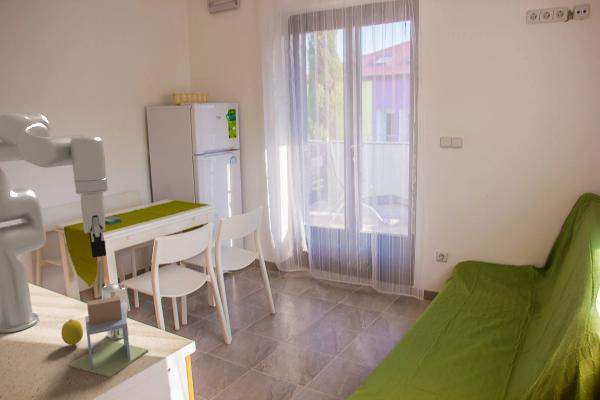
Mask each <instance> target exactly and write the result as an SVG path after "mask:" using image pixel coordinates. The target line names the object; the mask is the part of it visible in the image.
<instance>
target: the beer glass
mask: <svg viewBox="0 0 600 400" xmlns="http://www.w3.org/2000/svg"><path fill="white" fill-rule="evenodd" d="M126 287H127V286H126V285H125V284H124V283H111V284H107V285H104V286H103V287H102V288H101V299H105V298H110V297H116V296H119V298H120V303H121V310H123V312H124V315H125V319H126V322H127V323H128V321H127V319H128V308H129V307H128V306H129V305H128V304H129V303H128V302H129V301H128V294H127V293H128V292H127V288H126ZM127 329H128V335H129V334H130V330H129V326H128V325H127ZM107 338H108V339H110V340H120V339H123V329H122V328H121V329H116V330H111V331H107Z"/></svg>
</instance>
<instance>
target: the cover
mask: <svg viewBox="0 0 600 400" xmlns="http://www.w3.org/2000/svg"><path fill="white" fill-rule="evenodd" d="M86 305H87V312H88V313H87V314H88V315H87V316H85V317H84V318H85V319H84V321H85V327H86V328H85V329H86V337H87V347H88V353H89V356H90V365H91V370H92V369H94V368H93V359H92V351H93V350H92V344H91V335H95V334H100V333H104V332H108V331H111V330H116V329H121V328H122V329H123V338H122V340H123V344H124V346H125V350H126V354H127V358H128V361H130V350H129V345H130V341H129V334H128V329H129V328H128V329H127V326H128V321H127V322H126V319H125V315H124V312H123V310H121V303H120V298H119V296H116V297H110V298H105V299H102V298H100V299H95V300H89V301H86Z"/></svg>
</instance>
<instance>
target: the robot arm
mask: <svg viewBox="0 0 600 400" xmlns="http://www.w3.org/2000/svg"><path fill="white" fill-rule="evenodd" d="M103 141H104V140H102V138H100V137H99V136H84V135H81V134H79V135H78V134H72V135H55V136H54V135H53V136H51V124H50V122H49V120H48V119H47V118H46V116H45V115H44V114H42V113H39V112H31V111H30V112H7V113H2V114H0V163H6V162H15V161H23V160H24V161H25V162H27V163H29V164H31V165H34V166H37V167H39V168H45V169H48V168H56V167H63V166H64V167H65V166H72V172H73V179H74V180H73V181H74V189H75V191H74V192H75V194H76V195H80V208H81V209H80V210H81V217H82V226H83V233H85V234H89V235H88V236H89V243H90V248H91V255H92V256H91V257H92V258H99V257H106V256H107V252H106V251H107V250H106V249H107V248H106V241H105V239H104V231H105V230H106V212H105V201H104V193H106V192H108V191H109V189H108V180H107V170H106V169H107V167H106V160H105V149H104V142H103ZM9 183H10V182H9V179H8V175H7V173H6V172H5V171H4V170H3V169H2V168H1V167H0V224H1V223H7V222H11V221H16V220H20V221H21V222H20V223H15V224H8V225H4V226H1V227H0V333H5V334H7V333H14V332H19V331H22V330H23V331H24V330H25V329H29V328H31V327H32V326H34V325H36V324H37V323H39V320H40V317H39V315H38V314H37V313H35V312H33V307H32V300H31V293H30V286H29V279H28V271H27V268H26V266H25V264H24V263H23V262H22V261H21V260H19V259H18V258H17V257H18V256H19V255H23V254H26V253H30V252H34V251H37V250H39V249H41V248H43V247H44V246H45V245H46V241H47V235H46V229H45V224H44V223H45V222H44V218H43V214H42V213H43V212H42V209H41V208H42V207H41V204H40V200H39V198H38V196H37V194H36V193H35V192H34V191H33V190H32V189H30V188H27V187H19V188H12V189H11V186H10V184H9Z"/></svg>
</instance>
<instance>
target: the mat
mask: <svg viewBox="0 0 600 400" xmlns="http://www.w3.org/2000/svg"><path fill="white" fill-rule="evenodd" d="M129 350H130V361H128V358H127V354H126V350H125V346H124V342H123V343H122V342H120V341H119V342H118V341H114V340H112V339H110V340H108V341H107V342H105V343H104V344H102V345H100V346H98V347H97V348H95V349H93V350H91V351H92V359H93V368H94V369H92V370H91V365H90V356H89V352H87V353H86V354H84V355H82V356H81V357H79V358H78V359H76V360H74V361H72V362H71V363H69V367H73V368H76V369H79V370H82V371H86V372H90V373H93V374H96V373H97V375H101V376H105V377H108V378H111V377H112V376H113V375H116V373H118V372H120V371H121V370H123V369H125V368H126V367H127V366H128V365H130V364H132V363H133V362H135V361H136V360H138V359H139V358H141V357H142V356H143V355H145V354H147V353H149V349H148V348H143V347H140V346H135V345H132V344H129Z"/></svg>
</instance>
